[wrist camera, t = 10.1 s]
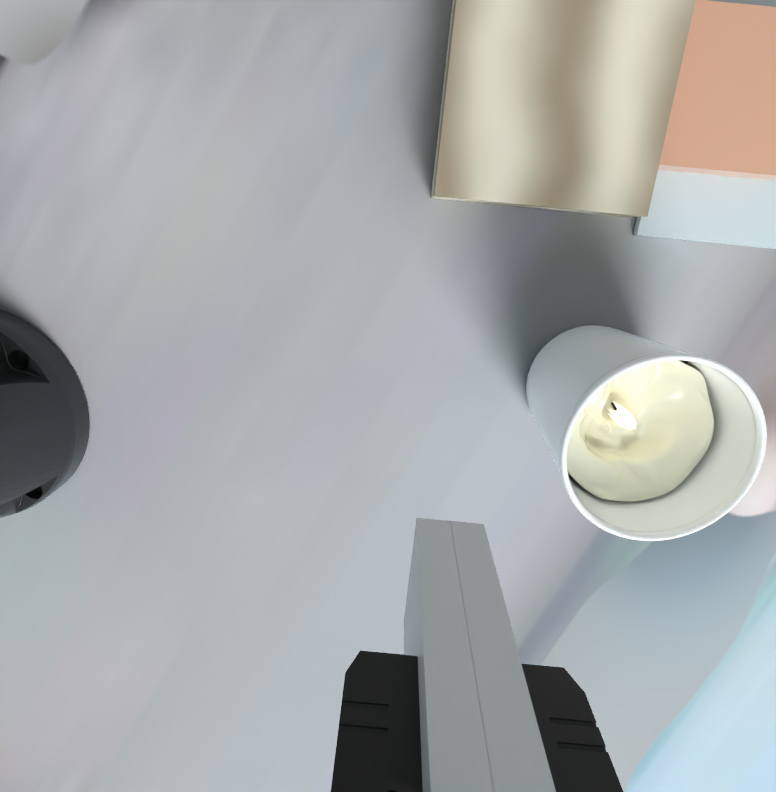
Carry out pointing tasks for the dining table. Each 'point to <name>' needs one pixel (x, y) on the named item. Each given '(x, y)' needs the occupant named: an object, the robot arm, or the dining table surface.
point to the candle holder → (645, 431)
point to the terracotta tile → (725, 94)
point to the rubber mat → (712, 204)
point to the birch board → (558, 102)
